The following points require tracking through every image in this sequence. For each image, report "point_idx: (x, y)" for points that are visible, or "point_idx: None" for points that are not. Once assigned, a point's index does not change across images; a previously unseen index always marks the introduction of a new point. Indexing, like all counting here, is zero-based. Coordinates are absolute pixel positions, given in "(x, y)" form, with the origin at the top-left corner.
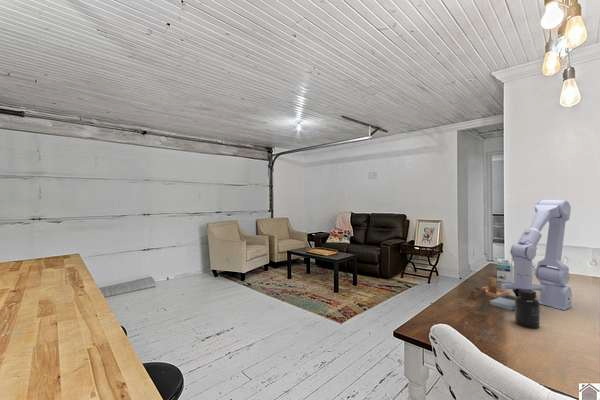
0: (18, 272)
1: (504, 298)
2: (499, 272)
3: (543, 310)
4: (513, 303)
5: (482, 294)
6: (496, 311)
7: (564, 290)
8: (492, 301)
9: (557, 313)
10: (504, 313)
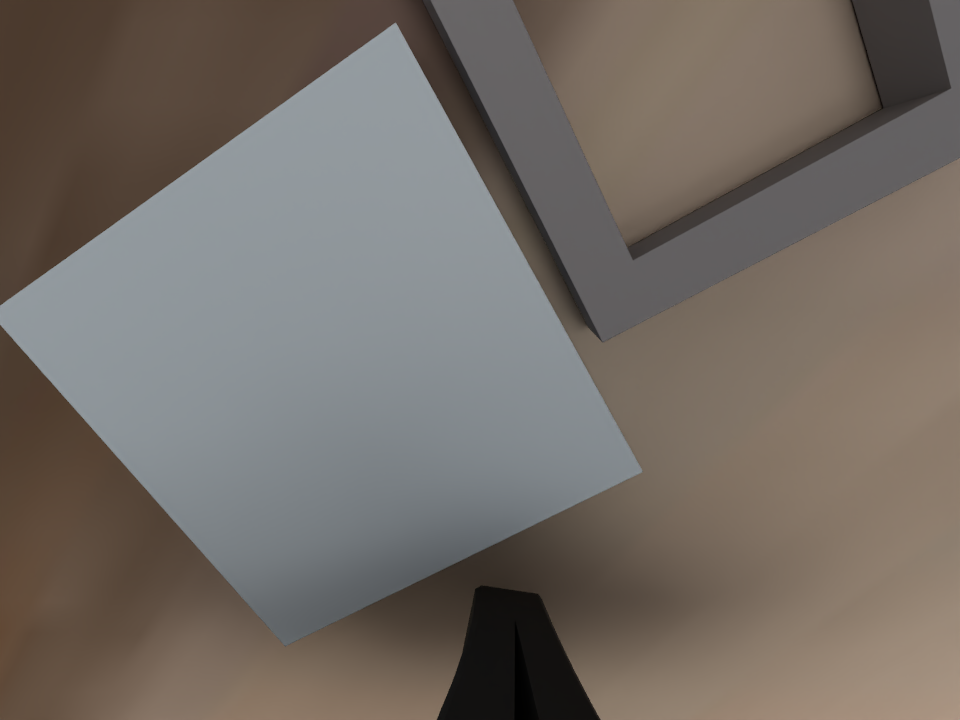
0: None
1: (506, 93)
2: None
3: (860, 592)
4: (449, 490)
5: None
6: (47, 610)
7: None
8: (38, 357)
9: (952, 690)
10: (136, 672)
